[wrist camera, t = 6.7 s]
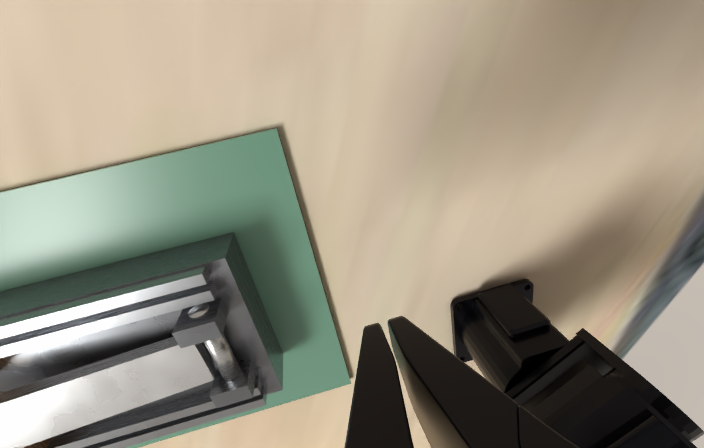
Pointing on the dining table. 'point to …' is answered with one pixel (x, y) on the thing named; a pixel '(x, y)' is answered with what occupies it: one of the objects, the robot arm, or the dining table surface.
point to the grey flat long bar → (100, 391)
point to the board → (187, 239)
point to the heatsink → (147, 335)
